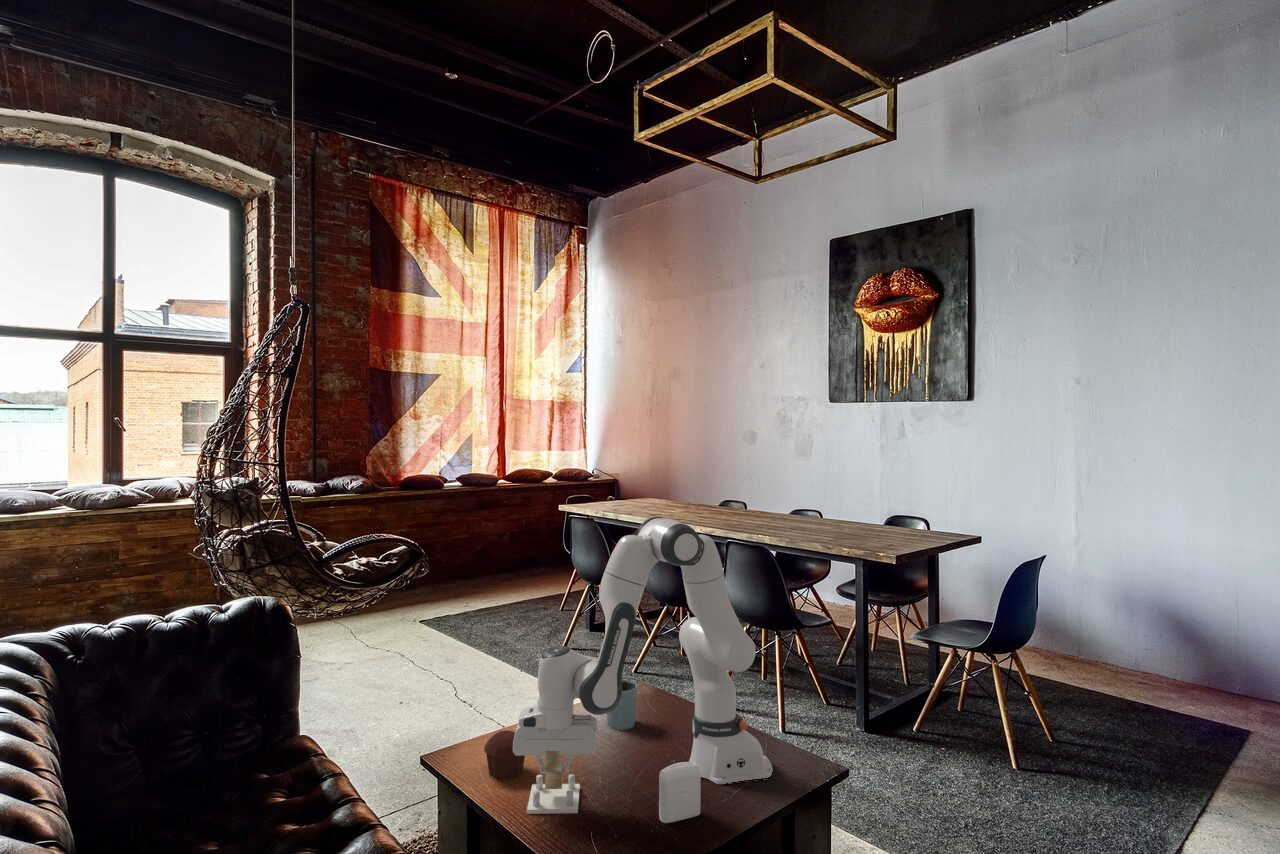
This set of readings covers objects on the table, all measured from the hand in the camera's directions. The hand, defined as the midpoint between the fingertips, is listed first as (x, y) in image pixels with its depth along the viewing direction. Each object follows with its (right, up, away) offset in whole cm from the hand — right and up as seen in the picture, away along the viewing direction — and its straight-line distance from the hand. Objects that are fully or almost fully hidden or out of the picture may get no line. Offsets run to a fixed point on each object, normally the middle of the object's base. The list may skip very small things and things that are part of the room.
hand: (554, 771), depth 173 cm
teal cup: (+15, -8, +46) cm, 49 cm away
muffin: (-15, -7, +14) cm, 22 cm away
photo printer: (+30, -8, -7) cm, 32 cm away
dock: (0, -7, 0) cm, 7 cm away
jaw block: (0, -3, 0) cm, 3 cm away
